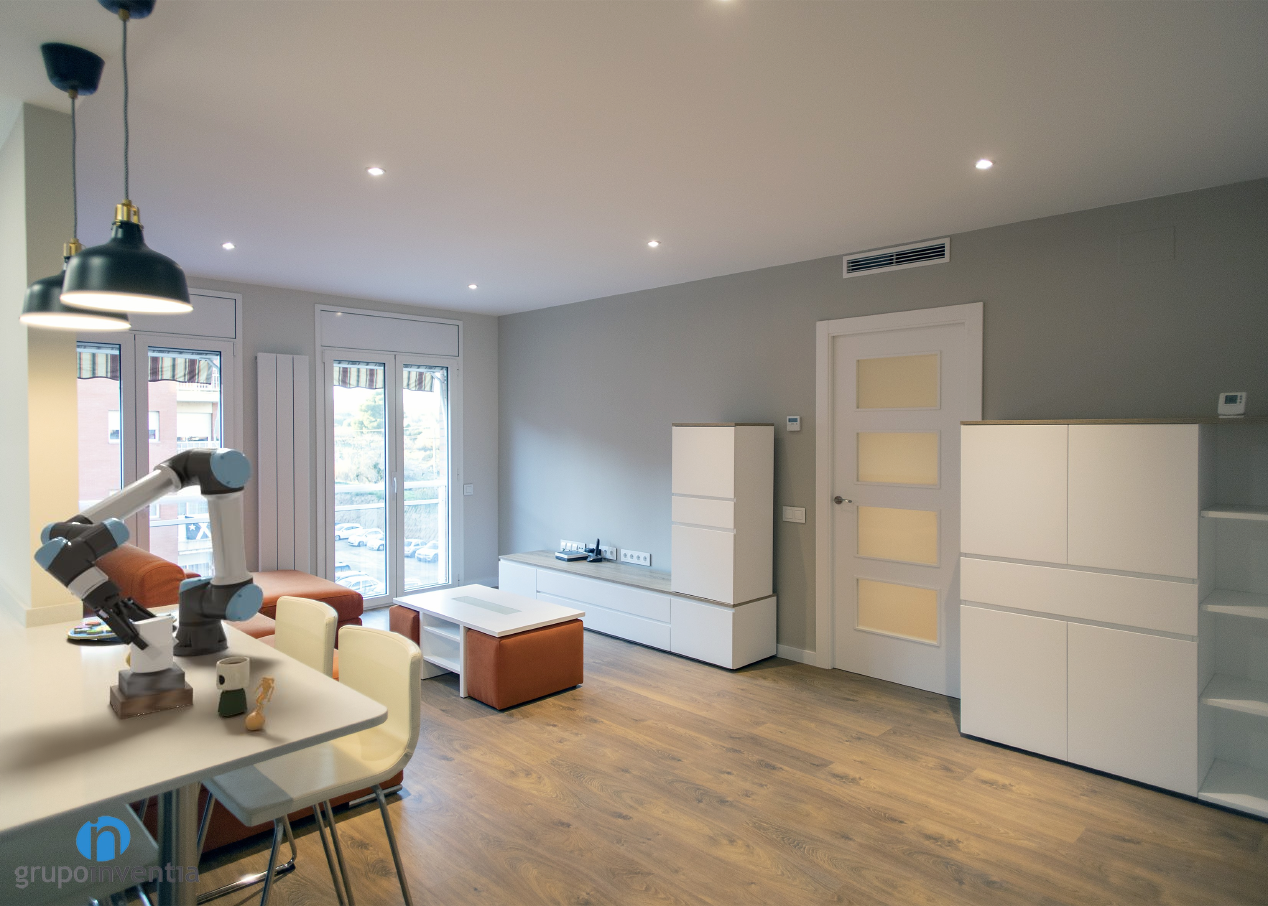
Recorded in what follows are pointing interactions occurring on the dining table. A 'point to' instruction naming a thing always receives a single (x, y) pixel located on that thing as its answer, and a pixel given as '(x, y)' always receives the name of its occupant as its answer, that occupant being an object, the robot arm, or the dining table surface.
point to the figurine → (260, 704)
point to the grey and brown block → (150, 691)
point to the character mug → (232, 684)
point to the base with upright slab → (159, 635)
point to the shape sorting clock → (100, 630)
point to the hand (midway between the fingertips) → (166, 650)
